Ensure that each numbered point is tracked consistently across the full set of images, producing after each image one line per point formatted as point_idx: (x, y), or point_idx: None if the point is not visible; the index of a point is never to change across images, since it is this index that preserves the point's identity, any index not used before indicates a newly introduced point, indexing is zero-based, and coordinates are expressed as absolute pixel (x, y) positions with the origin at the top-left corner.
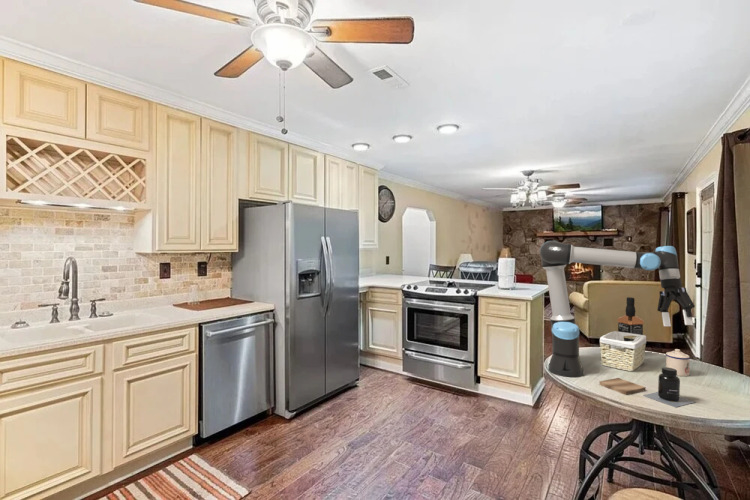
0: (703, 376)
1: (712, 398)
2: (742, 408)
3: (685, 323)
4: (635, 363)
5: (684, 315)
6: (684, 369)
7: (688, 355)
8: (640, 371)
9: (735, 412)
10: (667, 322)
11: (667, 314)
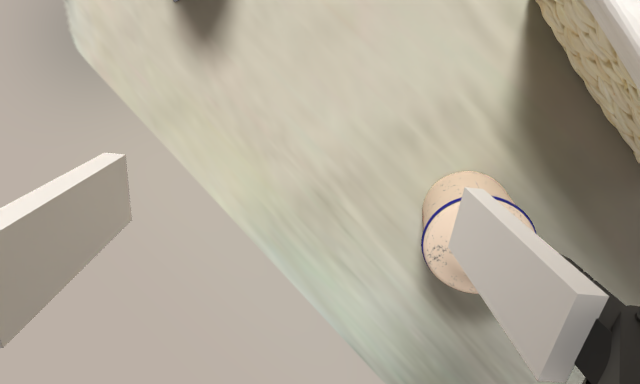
0: (413, 274)
1: (213, 102)
2: (147, 124)
3: (107, 158)
4: (558, 20)
5: (35, 196)
6: (423, 213)
7: (447, 283)
8: (530, 51)
9: (117, 72)
10: (472, 240)
11: (524, 329)
